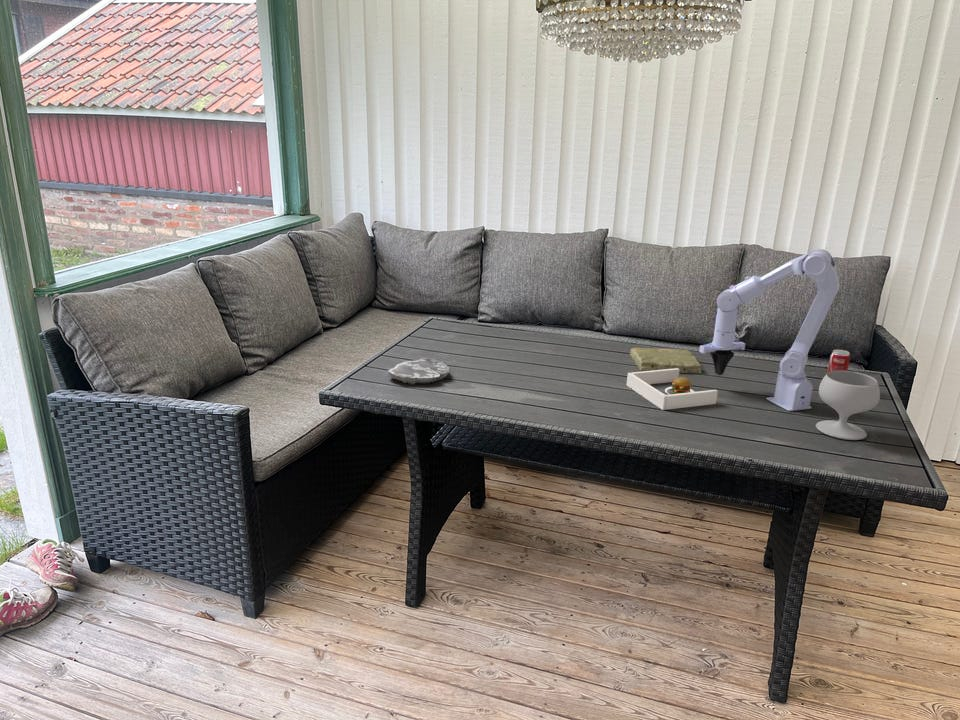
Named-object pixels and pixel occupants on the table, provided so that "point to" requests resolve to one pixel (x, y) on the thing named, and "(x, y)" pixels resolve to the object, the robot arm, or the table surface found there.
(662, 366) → the decorative tile
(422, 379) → the brain slice
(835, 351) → the soda can
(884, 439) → the table surface
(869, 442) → the table surface
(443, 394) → the table surface
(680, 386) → the hamburger
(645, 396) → the box
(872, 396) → the chalice
